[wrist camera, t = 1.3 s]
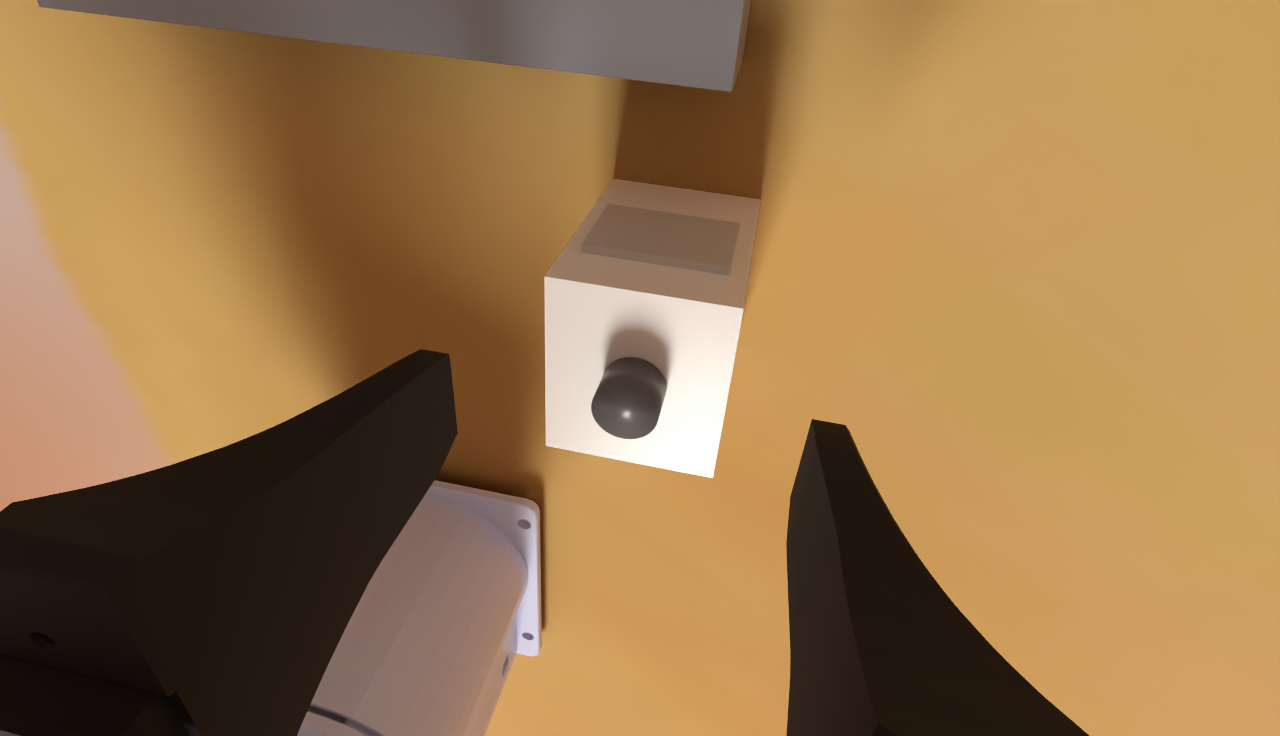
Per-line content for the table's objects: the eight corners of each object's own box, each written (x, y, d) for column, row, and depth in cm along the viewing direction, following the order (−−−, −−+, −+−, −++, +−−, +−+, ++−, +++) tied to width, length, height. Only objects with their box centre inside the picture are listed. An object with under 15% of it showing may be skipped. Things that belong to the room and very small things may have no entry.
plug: (735, 342, 21) (707, 509, 15) (605, 320, 21) (532, 474, 16) (762, 191, 18) (741, 325, 12) (613, 170, 19) (527, 290, 13)
